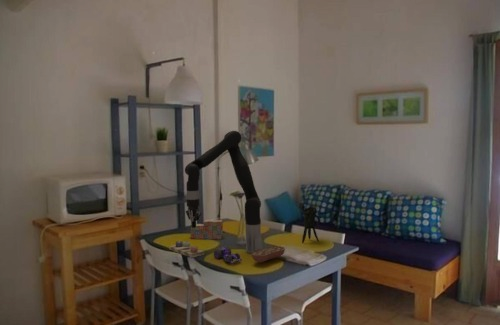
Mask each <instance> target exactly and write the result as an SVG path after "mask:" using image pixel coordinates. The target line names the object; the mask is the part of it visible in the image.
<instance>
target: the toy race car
mask: <svg viewBox="0 0 500 325" xmlns="http://www.w3.org/2000/svg"><path fill="white" fill-rule="evenodd" d="M213 257H214V259H216V260H219V259H222V260H224V261H225V262H227V263H229V264H230V263H231V264H234V263H236V262H242V260H243V259H242V258H241V255H240V253H238V252H236V253H234V254H233V253H232V250H231V248H230V247H228V245H225V244H224V245H223V246H222V247H220V246H217V250H215V251H214V252H213Z"/></svg>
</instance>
